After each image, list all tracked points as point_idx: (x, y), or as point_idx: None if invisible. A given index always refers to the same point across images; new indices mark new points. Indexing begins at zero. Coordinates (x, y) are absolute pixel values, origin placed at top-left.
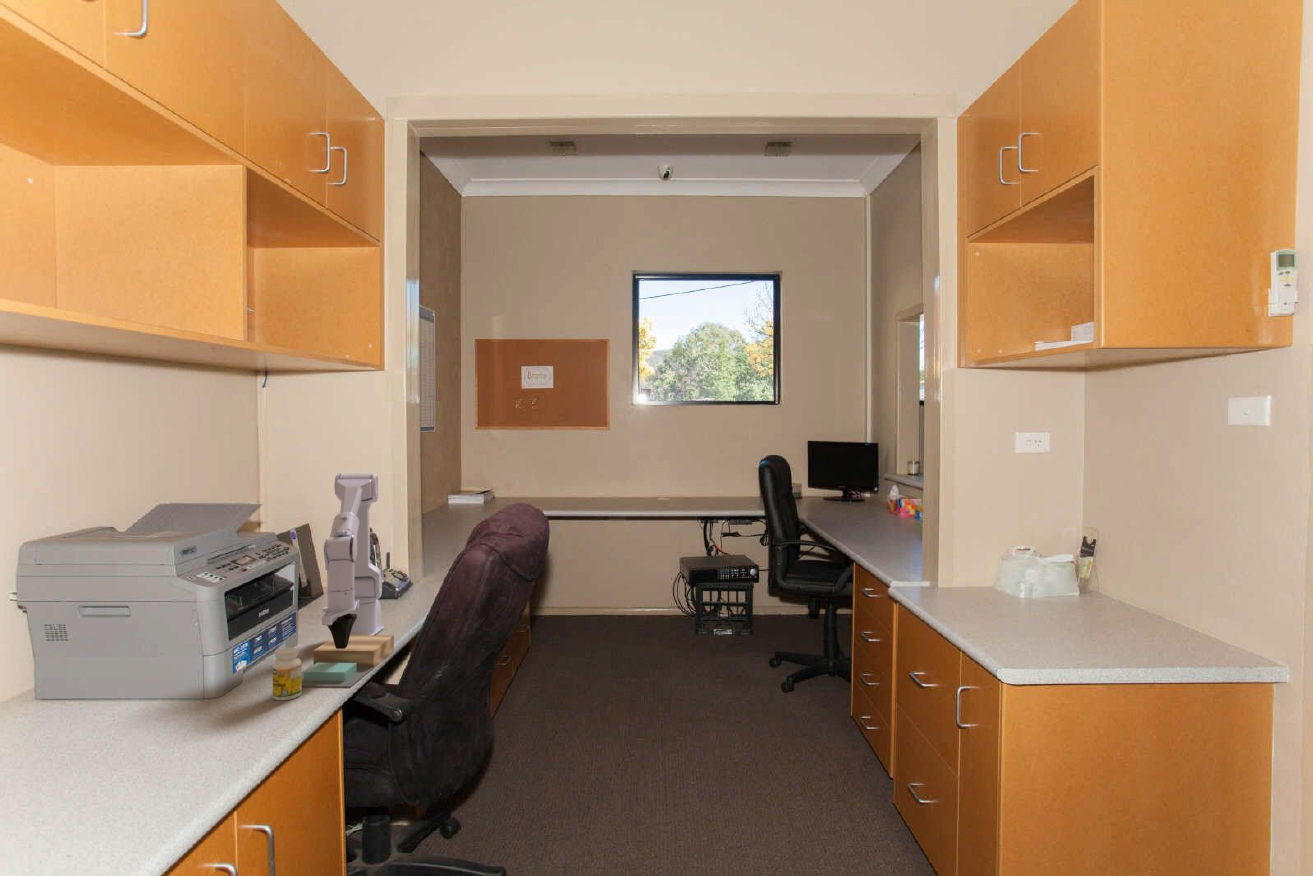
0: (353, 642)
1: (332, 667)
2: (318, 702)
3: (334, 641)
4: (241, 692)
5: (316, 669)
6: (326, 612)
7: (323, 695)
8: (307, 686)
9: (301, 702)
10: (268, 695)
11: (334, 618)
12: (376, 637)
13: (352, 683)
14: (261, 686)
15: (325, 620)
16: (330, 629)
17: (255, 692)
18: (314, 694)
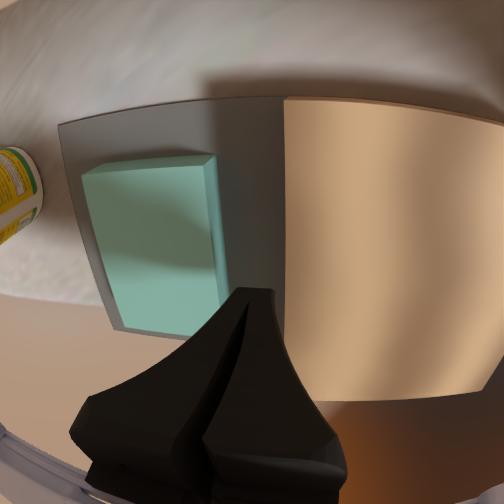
0: (439, 289)
1: (154, 270)
2: (28, 282)
3: (217, 313)
4: (18, 20)
5: (115, 215)
6: (18, 499)
7: (55, 278)
8: (74, 204)
9: (13, 244)
10: (10, 122)
11: (64, 484)
12: (484, 351)
13: (132, 329)
14: (57, 32)
15: None
16: (148, 376)
17: (19, 61)
18: (50, 252)
